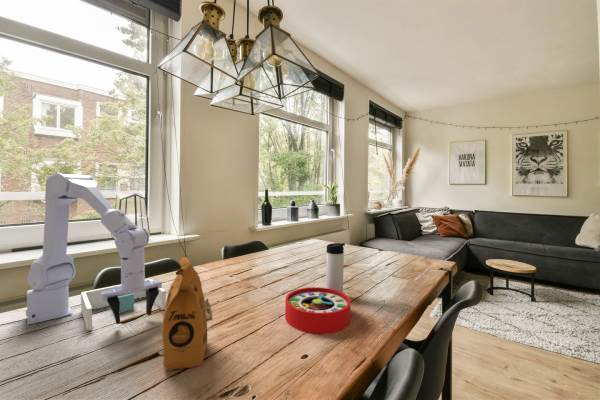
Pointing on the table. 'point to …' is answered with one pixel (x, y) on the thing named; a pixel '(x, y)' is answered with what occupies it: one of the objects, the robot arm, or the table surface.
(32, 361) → the table surface
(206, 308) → the shard
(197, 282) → the coffee package
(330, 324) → the toy clock
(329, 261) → the travel mug
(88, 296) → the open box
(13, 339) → the table surface
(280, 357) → the table surface
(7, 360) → the table surface
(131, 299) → the teal block
